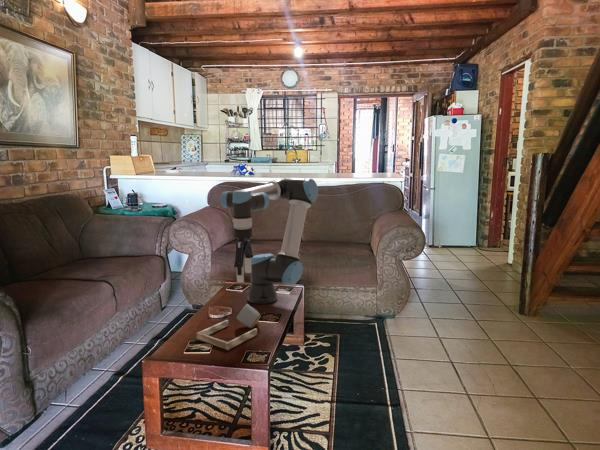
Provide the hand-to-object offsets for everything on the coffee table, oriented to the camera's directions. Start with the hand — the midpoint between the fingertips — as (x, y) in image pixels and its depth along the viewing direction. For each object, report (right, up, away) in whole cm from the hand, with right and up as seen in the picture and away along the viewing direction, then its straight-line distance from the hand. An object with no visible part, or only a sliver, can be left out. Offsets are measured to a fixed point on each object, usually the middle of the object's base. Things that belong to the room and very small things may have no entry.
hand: (244, 277), depth 175 cm
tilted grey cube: (+2, -21, +4) cm, 22 cm away
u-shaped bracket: (-6, -23, -8) cm, 25 cm away
